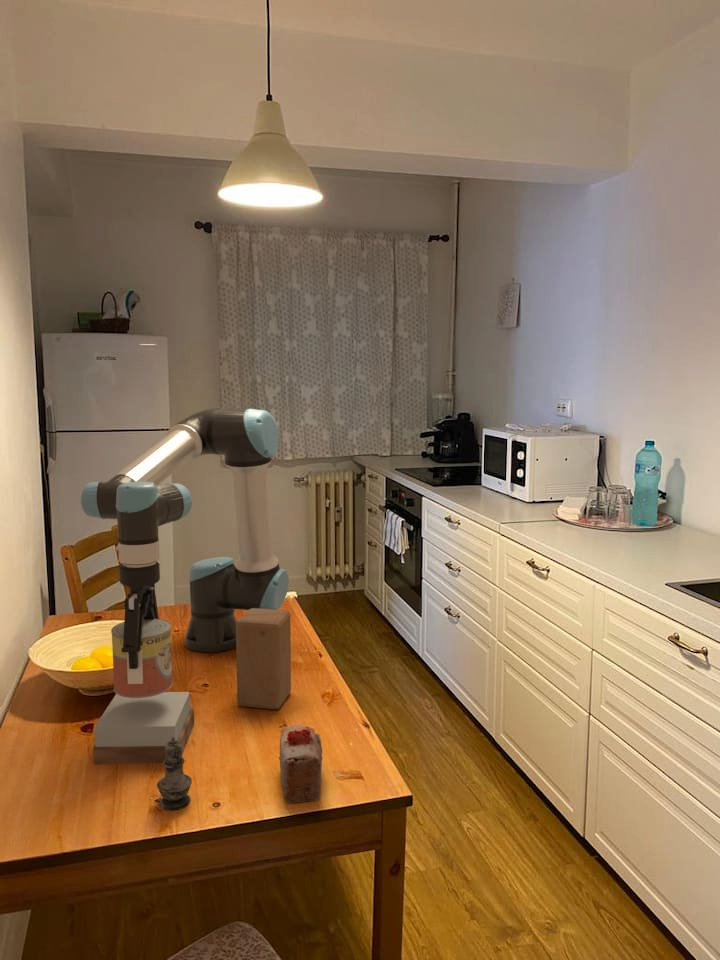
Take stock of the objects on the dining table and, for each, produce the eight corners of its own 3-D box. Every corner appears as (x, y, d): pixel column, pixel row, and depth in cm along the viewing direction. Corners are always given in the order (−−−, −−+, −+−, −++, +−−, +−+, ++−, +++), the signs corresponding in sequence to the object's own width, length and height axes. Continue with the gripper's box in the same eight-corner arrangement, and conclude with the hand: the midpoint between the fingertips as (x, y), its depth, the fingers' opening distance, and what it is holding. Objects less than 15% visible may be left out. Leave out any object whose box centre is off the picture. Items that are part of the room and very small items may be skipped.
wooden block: (279, 711, 163) (278, 623, 161) (235, 707, 165) (234, 620, 162) (292, 692, 173) (291, 609, 170) (251, 688, 175) (249, 606, 172)
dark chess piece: (160, 814, 125) (158, 748, 124) (155, 796, 131) (152, 732, 129) (195, 806, 128) (193, 741, 126) (188, 789, 133) (186, 726, 131)
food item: (277, 764, 142) (276, 715, 140) (318, 761, 143) (318, 712, 142) (282, 805, 128) (281, 752, 127) (328, 801, 130) (328, 748, 128)
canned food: (157, 700, 141) (155, 639, 140) (102, 695, 143) (99, 635, 142) (182, 676, 152) (180, 620, 151) (130, 672, 154) (128, 616, 153)
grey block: (118, 710, 156) (117, 692, 155) (190, 710, 156) (189, 691, 156) (95, 746, 141) (94, 727, 140) (175, 746, 142) (174, 726, 141)
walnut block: (117, 727, 157) (117, 709, 157) (194, 726, 158) (193, 708, 157) (93, 767, 141) (92, 747, 141) (179, 765, 142) (178, 746, 141)
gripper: (135, 548, 156) (139, 649, 159) (101, 579, 132) (106, 696, 136) (171, 548, 156) (174, 648, 159) (144, 579, 133) (148, 696, 136)
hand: (143, 670), depth 147 cm, fingers closed on canned food, 11 cm apart
